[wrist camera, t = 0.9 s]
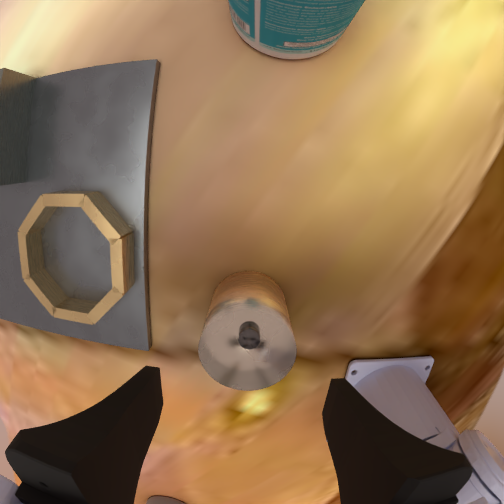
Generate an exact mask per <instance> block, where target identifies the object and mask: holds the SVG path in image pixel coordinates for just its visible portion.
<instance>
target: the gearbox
mask: <svg viewBox="0 0 504 504" xmlns="http://www.w3.org/2000/svg"><path fill="white" fill-rule="evenodd" d="M159 68H160V62H159V61H158V60H157V59H156V60H143V61H132V62H123V63H115V64H107V65H100V66H94V67H88V68H82V69H77V70H71V71H66V72H62V73H57V74H52V75H48V76H44V77H40V78H34V77H31V76H28V75H25V74H22V73H19V72H16V71H13V70H9V69H6V68H2V69H0V318H1V319H4V320H7V321H11V322H14V323H18V324H22V325H25V326H29V327H33V328H37V329H41V330H45V331H49V332H53V333H57V334H61V335H66V336H70V337H75V338H79V339H84V340H89V341H94V342H99V343H104V344H110V345H115V346H121V347H127V348H133V349H139V350H146V351H149V350H150V348H151V346H152V342H151V329H150V312H149V291H148V192H149V170H150V154H151V140H152V129H153V118H154V108H155V99H156V91H157V83H158V75H159Z"/></svg>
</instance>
